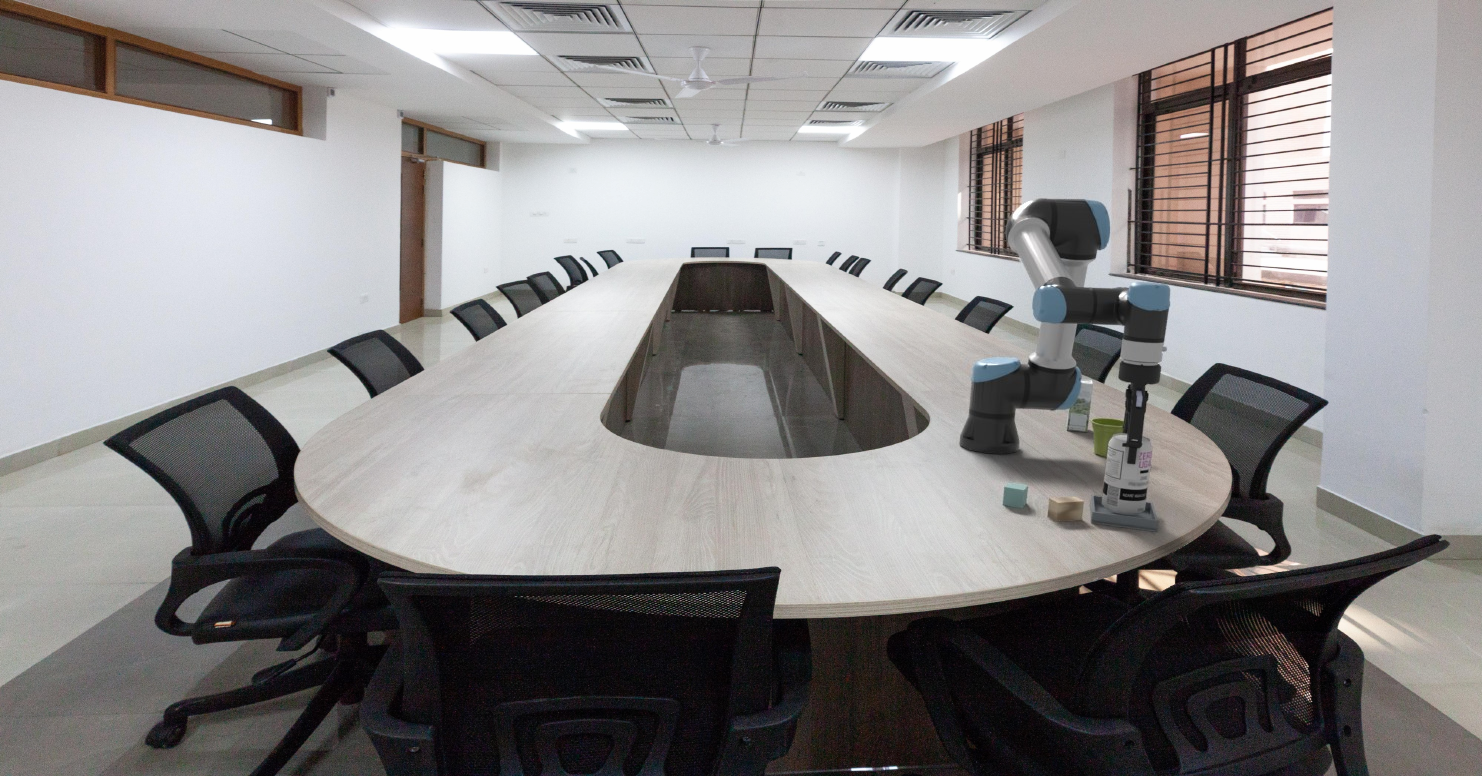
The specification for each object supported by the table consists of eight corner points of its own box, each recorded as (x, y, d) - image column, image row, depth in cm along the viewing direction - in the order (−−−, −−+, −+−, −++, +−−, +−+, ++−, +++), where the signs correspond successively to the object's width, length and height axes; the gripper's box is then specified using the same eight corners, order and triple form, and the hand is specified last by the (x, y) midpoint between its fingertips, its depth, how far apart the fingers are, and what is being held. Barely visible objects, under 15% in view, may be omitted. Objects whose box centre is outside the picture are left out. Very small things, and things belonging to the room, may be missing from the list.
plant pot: (1086, 456, 230) (1090, 423, 229) (1087, 448, 239) (1091, 416, 237) (1126, 461, 227) (1130, 427, 225) (1125, 452, 235) (1129, 420, 234)
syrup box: (1087, 428, 261) (1092, 379, 258) (1087, 433, 255) (1093, 382, 253) (1066, 426, 263) (1071, 377, 260) (1066, 430, 257) (1071, 380, 254)
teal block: (1002, 505, 189) (1004, 486, 189) (1007, 500, 193) (1009, 482, 192) (1021, 508, 188) (1023, 490, 187) (1026, 503, 191) (1028, 485, 190)
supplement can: (1106, 500, 189) (1114, 430, 186) (1148, 508, 184) (1157, 437, 181) (1096, 510, 182) (1105, 438, 179) (1140, 519, 178) (1149, 445, 175)
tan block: (1056, 521, 180) (1058, 502, 179) (1047, 516, 183) (1049, 498, 182) (1082, 520, 182) (1084, 501, 181) (1072, 515, 185) (1074, 496, 184)
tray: (1091, 522, 180) (1092, 511, 179) (1089, 505, 191) (1090, 494, 190) (1156, 531, 176) (1158, 520, 175) (1151, 513, 187) (1152, 502, 187)
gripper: (1167, 372, 166) (1152, 490, 171) (1156, 355, 186) (1143, 461, 190) (1123, 368, 168) (1109, 484, 173) (1117, 352, 188) (1105, 457, 193)
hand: (1127, 472), depth 182 cm, fingers open, 8 cm apart
